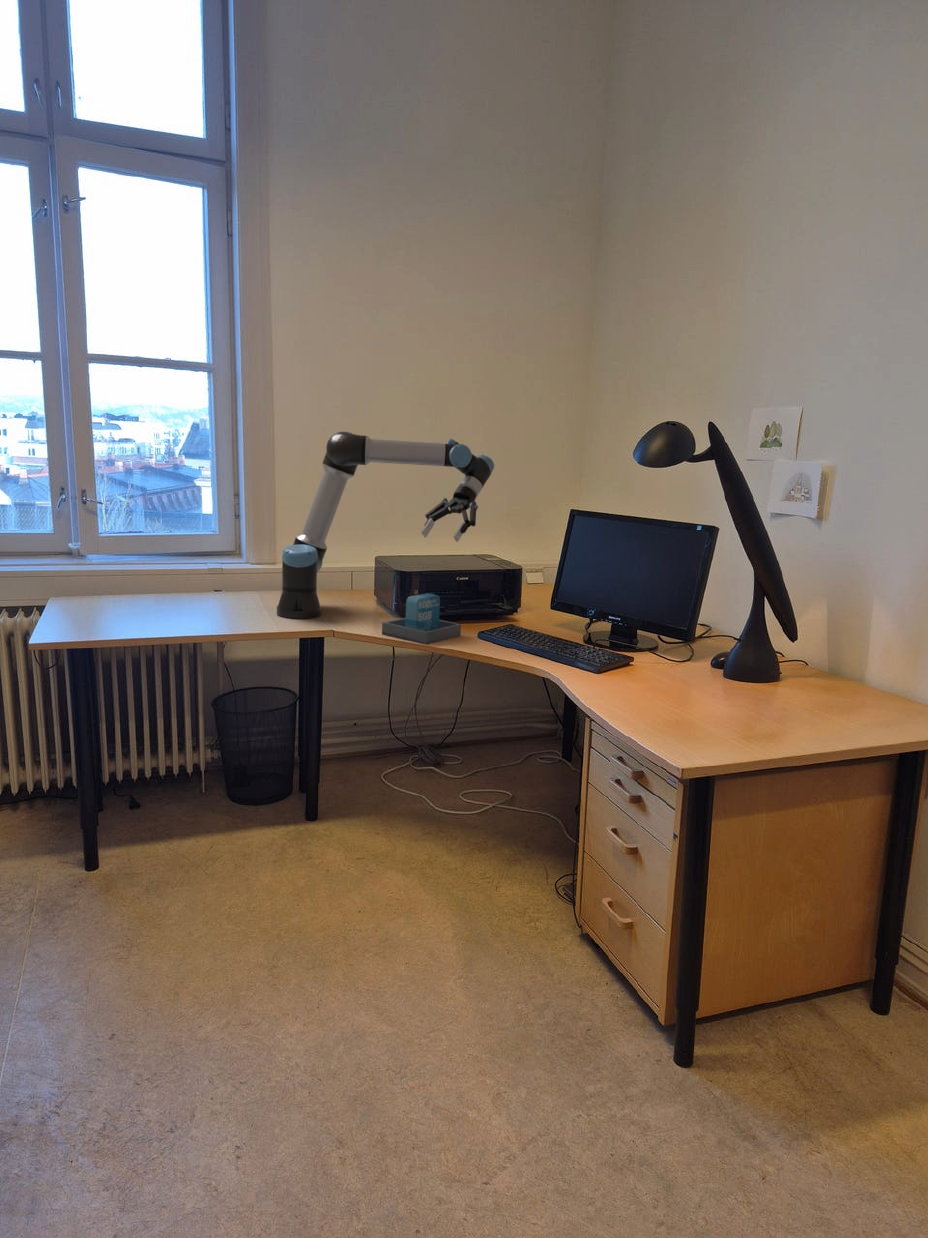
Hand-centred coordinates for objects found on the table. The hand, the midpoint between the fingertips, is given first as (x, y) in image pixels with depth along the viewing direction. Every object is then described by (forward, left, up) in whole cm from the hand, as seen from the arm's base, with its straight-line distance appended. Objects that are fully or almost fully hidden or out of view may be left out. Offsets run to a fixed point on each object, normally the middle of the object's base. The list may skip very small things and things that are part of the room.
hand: (439, 536), depth 258 cm
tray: (+9, -19, -30) cm, 36 cm away
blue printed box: (+9, -18, -29) cm, 36 cm away
